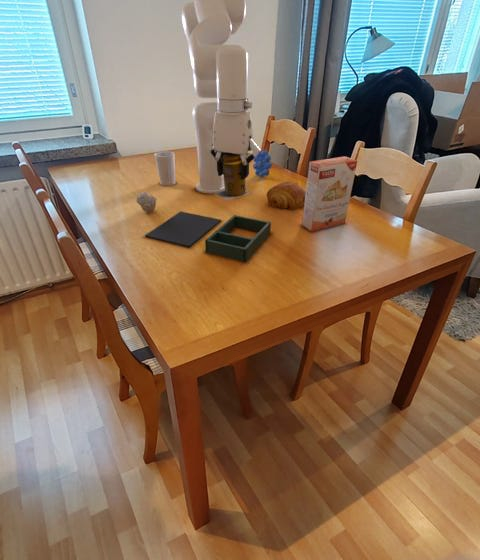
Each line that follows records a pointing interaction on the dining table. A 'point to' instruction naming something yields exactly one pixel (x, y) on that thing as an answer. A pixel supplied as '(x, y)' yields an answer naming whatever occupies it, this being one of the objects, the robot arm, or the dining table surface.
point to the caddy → (237, 238)
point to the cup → (166, 167)
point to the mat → (183, 229)
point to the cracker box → (328, 192)
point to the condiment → (232, 177)
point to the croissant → (286, 195)
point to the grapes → (262, 164)
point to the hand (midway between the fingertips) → (232, 175)
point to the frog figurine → (146, 202)
